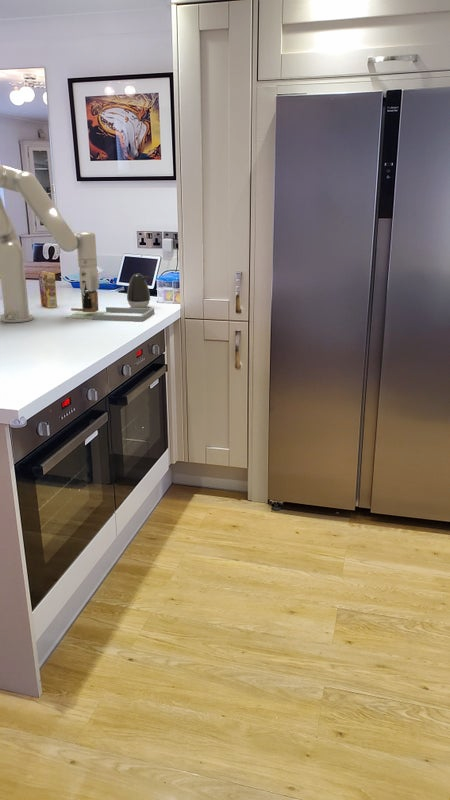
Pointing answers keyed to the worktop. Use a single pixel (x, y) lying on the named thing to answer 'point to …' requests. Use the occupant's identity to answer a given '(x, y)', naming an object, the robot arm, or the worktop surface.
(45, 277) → the candy box
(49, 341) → the worktop surface
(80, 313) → the mat
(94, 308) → the walnut block
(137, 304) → the dark grey tall ovoid
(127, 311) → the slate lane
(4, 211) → the robot arm
